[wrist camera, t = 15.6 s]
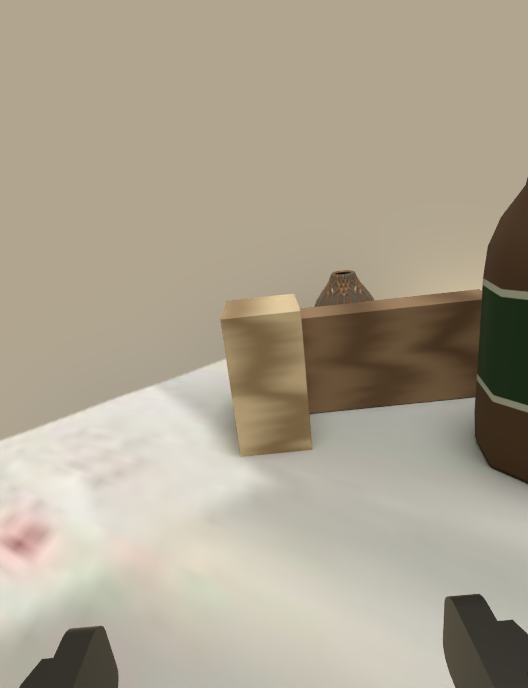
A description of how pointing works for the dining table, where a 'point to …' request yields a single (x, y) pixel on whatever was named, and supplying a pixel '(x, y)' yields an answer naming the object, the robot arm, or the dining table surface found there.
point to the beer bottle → (505, 345)
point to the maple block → (267, 374)
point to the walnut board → (392, 351)
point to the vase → (343, 290)
